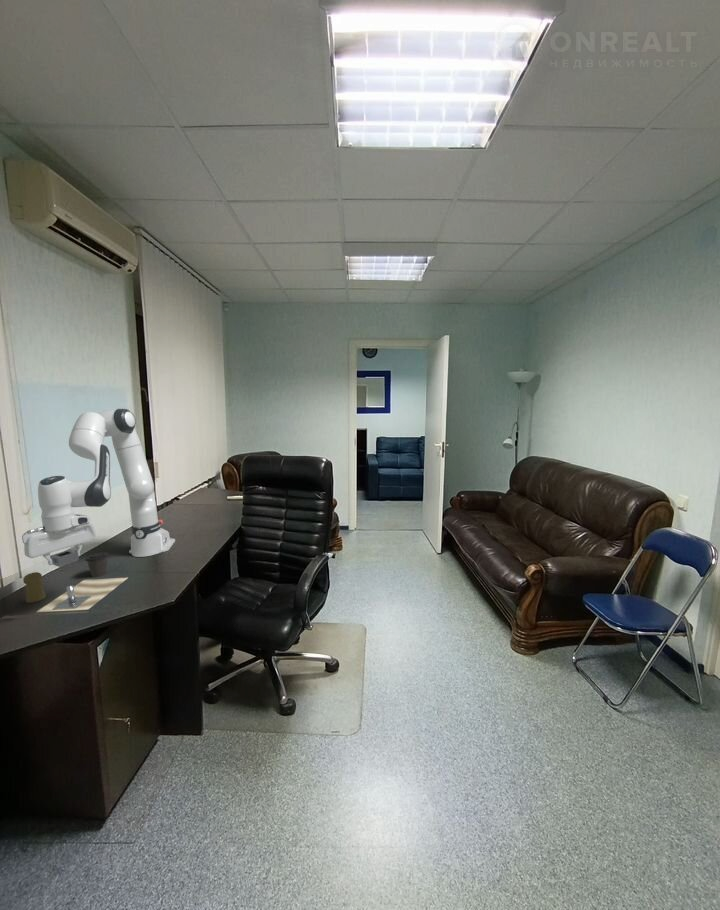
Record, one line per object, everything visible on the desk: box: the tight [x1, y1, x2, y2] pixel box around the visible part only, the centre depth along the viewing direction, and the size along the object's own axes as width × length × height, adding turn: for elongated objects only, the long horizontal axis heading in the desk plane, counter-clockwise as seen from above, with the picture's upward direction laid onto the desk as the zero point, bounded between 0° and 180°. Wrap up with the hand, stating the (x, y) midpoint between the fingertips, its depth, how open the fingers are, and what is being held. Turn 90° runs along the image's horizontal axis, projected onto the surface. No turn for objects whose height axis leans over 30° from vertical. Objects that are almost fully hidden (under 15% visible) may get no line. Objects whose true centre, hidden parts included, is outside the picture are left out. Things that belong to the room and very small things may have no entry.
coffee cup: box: [84, 551, 109, 578], centre depth 159 cm, size 8×8×10 cm
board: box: [35, 577, 128, 616], centre depth 143 cm, size 24×18×1 cm
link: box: [49, 549, 80, 568], centre depth 133 cm, size 6×6×3 cm
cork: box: [23, 571, 47, 604], centre depth 140 cm, size 6×6×11 cm
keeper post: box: [53, 584, 91, 610], centre depth 135 cm, size 8×8×6 cm
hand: (64, 560), depth 133 cm, fingers closed on link, 6 cm apart
